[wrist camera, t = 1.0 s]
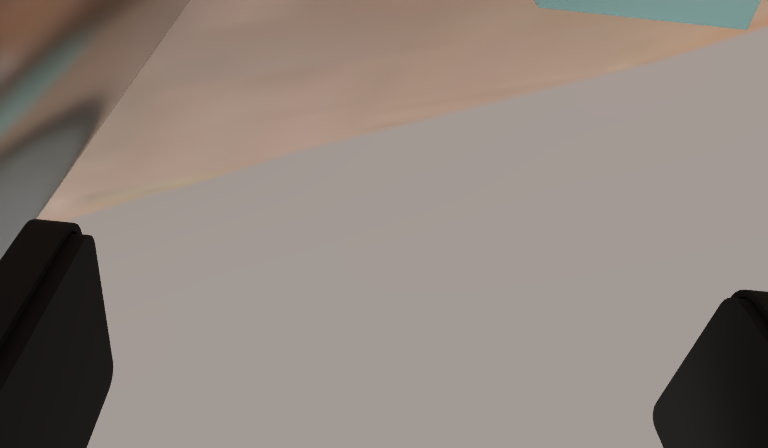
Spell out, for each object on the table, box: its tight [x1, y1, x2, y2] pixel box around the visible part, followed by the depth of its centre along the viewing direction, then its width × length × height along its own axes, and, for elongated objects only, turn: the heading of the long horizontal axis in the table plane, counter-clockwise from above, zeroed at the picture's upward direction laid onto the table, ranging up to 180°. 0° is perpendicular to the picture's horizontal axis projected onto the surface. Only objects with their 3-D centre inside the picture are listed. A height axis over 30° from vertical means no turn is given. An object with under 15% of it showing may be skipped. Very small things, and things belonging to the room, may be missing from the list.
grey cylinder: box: [0, 0, 190, 259], centre depth 20 cm, size 6×6×25 cm
